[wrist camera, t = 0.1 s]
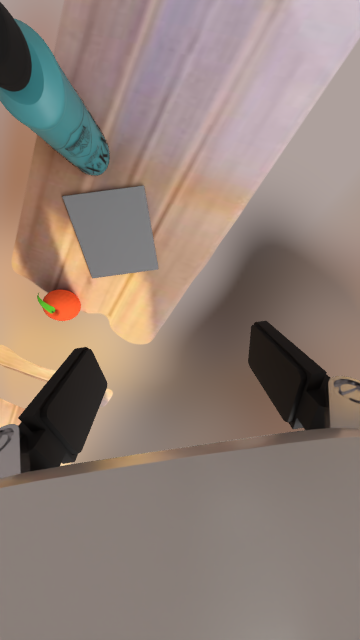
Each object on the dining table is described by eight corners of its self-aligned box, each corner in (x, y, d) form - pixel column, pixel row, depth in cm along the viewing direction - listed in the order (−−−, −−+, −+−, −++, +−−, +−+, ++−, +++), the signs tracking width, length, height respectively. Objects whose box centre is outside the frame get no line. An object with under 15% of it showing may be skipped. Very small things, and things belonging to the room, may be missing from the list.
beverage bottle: (68, 161, 28) (-99, 35, 10) (82, 116, 26) (-102, -144, 8) (104, 189, 30) (16, 122, 12) (120, 149, 28) (39, -2, 10)
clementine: (44, 297, 39) (21, 309, 32) (59, 276, 37) (37, 284, 30) (76, 318, 41) (60, 332, 35) (91, 299, 40) (77, 311, 33)
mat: (64, 197, 30) (62, 196, 30) (144, 186, 30) (143, 185, 30) (93, 277, 37) (92, 278, 37) (158, 268, 37) (158, 269, 37)
